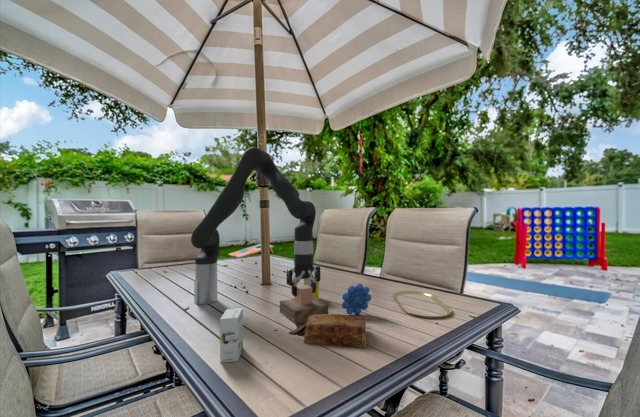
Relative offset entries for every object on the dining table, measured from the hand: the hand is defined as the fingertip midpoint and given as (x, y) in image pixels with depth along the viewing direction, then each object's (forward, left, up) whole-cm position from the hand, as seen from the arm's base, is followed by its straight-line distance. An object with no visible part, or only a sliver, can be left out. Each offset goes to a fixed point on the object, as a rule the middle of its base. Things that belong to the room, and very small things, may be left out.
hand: (304, 294), depth 115 cm
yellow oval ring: (+47, -17, -8) cm, 51 cm away
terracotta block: (0, 0, -3) cm, 3 cm away
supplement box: (+12, +14, -8) cm, 20 cm away
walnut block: (0, 0, -8) cm, 8 cm away
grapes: (+17, -11, -8) cm, 22 cm away
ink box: (-33, -17, -8) cm, 38 cm away
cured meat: (-3, -20, -8) cm, 22 cm away
